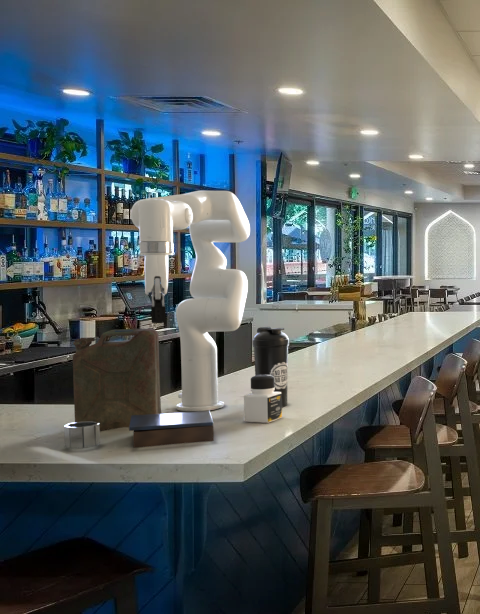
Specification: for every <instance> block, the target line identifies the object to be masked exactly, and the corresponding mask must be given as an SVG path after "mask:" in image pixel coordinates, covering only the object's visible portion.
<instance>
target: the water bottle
mask: <svg viewBox="0 0 480 614" xmlns="http://www.w3.org/2000/svg"><path fill="white" fill-rule="evenodd" d="M284 330H285V327H276V328H272V327H271V326H260V327H258V328H257V329H256V333H255V335H254V336H253V338H252V339H251V341H252V347H253V356H254V360H253V361H254V376H256V375H271V376H273V377H274V378H275V390H274V392H281V393H282V408H284V407H287V406H288V392H289V391H288V387H289V385H288V384H289V383H288V382H289V381H288V379H289V378H288V377H289V346H290V337H289V336H288V335H287V333H285V332H283V331H284Z"/></svg>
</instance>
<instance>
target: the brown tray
mask: <svg viewBox="0 0 480 614" xmlns="http://www.w3.org/2000/svg"><path fill="white" fill-rule="evenodd" d="M132 435H133V439H132V440H133V448H134V449H136V448H138V449H139V448H148V447H159V446H160V447H161V446H171V445H181V444H192V443H193V444H194V443H201V442H213V441H214V424H213V425H212V426H196V427H181V428H165V429H150V430H134V431H132Z"/></svg>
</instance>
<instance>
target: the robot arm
mask: <svg viewBox="0 0 480 614" xmlns="http://www.w3.org/2000/svg"><path fill="white" fill-rule="evenodd" d="M130 219H131V222H132V224H133V225H134V226H135V227H136V228H137V229H139V230H138V233H139V255H140V256H144V294H145V295H147V296H149V295H150V294H149V293H151V307H150V315H151V316H150V317H151V318H150V319H151V323H152V324H165V323H166V322H167V321H166V320H167V315H166V312H167V311H166V306H165V295H167V294H168V288H169V256H174V231H181V230H182V231H183V230H185V229H187V228H189V235H190V239H191V243H192V246H193V247H192V248H193V249H194V252H195V263H194V267H193V272H192V273H191V274H192V275H191V279H190V283H189V294H190V296H191V297H192V298H187V299H184V300H182V301H181V302H179V303H178V305H177V307H176V311H175V315H176V316H175V317H176V322H177V327H178V331H179V332H178V333H179V339H180V360H181V361H180V364H181V365H180V366H181V367H180V368H181V393H178V395H177V397H178V398H179V399H181V402H180V403H177V404H176V410H177V411H180V412H200V411H215V410H218V409H221V408H223V407H224V406H225V402H224V401H222V400H219V379H218V378H219V377H218V347H217V344H216V341H215V340H214V339H213V338H212V335H210V334H209V333H211V332H234V331H236V330H238V329H239V328H240V326H241V324H242V321H243V317H244V312H245V307H246V301H247V296H248V291H249V281H248V277H247V275H246V273H245V272H244V271H243V270H241V269H237V268H227V265H228V264H227V263H228V261H227V257H226V256H225V254H224V253H223V251H221V250H220V248H218V247H217V246H216V245H215V243H243V242H245V241H247V240H248V239H249V237H250V234H251V225H250V221H249V219H248V216H247V214H246V212H245V210H244V207H243V205H242V204H241V201H240V200H239V198H238V197H237V196H236V194H235V193H233V192H232V191H230V190H195V191H191V192H190V191H189V192H187V193H181V194H173V195H172V194H171V195H166V196H158V197H156V196H155V197H149V198H143V199H139V200H137V201H135V203H134V204H133V205H132V207H131V210H130Z"/></svg>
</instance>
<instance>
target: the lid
mask: <svg viewBox="0 0 480 614" xmlns="http://www.w3.org/2000/svg"><path fill="white" fill-rule="evenodd" d="M212 425H213V426H214V420H213V417H212V413H211V410H207V411H182V412H168V413H167V412H166V413H161V414H148V415H132V416H131V421H130V426H129V427H128V431H129V432H131V431H132V432H133V431H134V430H150V429H165V428H181V427H196V426H212Z"/></svg>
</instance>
